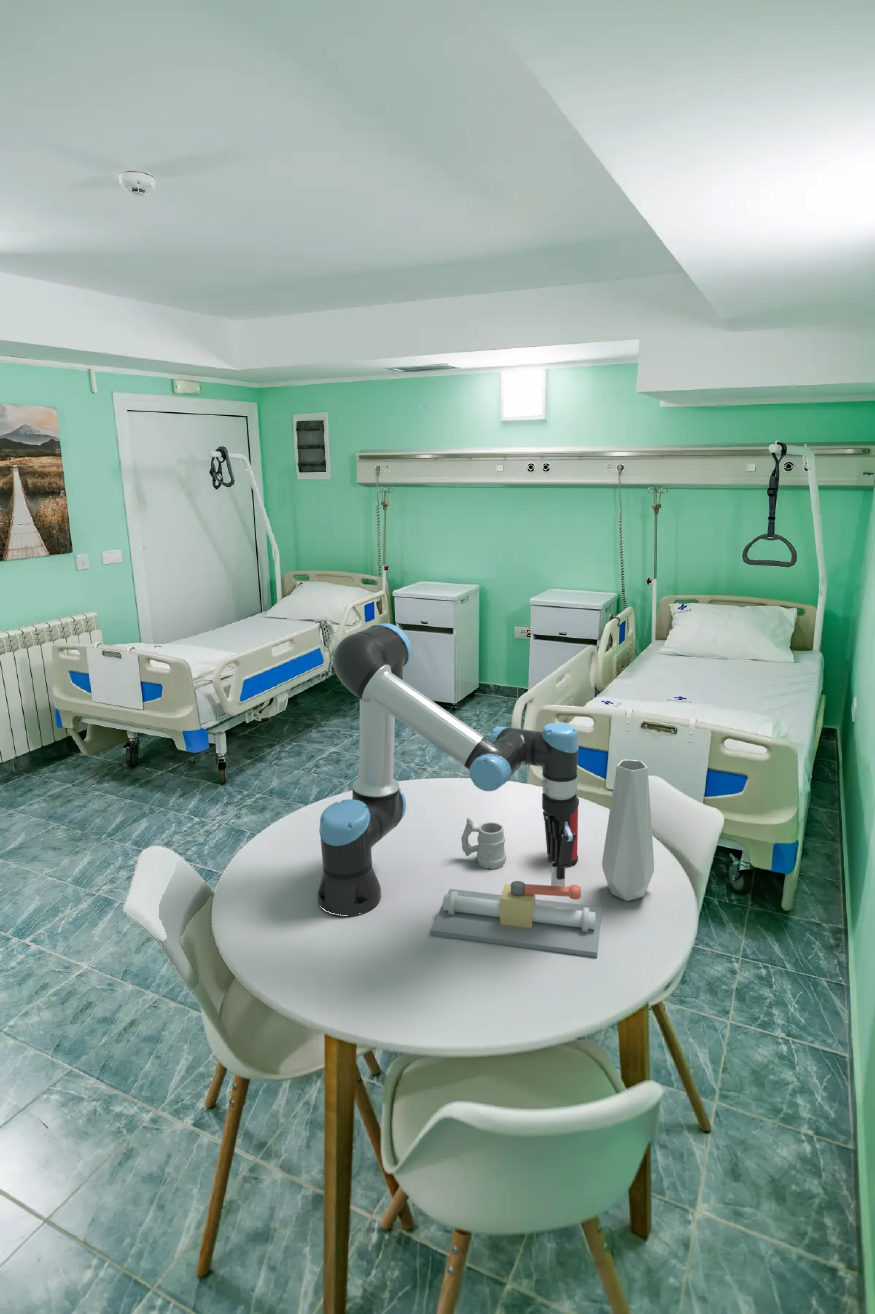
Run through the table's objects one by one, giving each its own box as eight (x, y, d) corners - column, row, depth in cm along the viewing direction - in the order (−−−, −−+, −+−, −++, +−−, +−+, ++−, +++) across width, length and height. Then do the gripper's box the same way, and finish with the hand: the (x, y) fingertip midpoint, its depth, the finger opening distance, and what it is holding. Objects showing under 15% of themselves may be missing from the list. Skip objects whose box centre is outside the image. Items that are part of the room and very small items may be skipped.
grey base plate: (431, 934, 167) (430, 904, 165) (449, 893, 183) (449, 865, 181) (596, 957, 158) (597, 925, 156) (601, 911, 174) (602, 882, 172)
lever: (510, 895, 167) (510, 887, 167) (511, 888, 170) (511, 880, 170) (580, 900, 165) (581, 892, 164) (580, 892, 168) (580, 884, 167)
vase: (609, 874, 189) (613, 751, 181) (655, 885, 183) (662, 759, 175) (593, 898, 179) (596, 769, 171) (641, 911, 173) (647, 778, 165)
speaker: (546, 865, 194) (547, 801, 189) (549, 851, 201) (549, 788, 197) (576, 868, 192) (578, 804, 187) (578, 853, 199) (579, 791, 195)
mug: (503, 871, 192) (503, 828, 189) (458, 866, 195) (457, 824, 192) (508, 856, 199) (508, 814, 196) (464, 851, 202) (464, 810, 199)
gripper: (532, 783, 171) (531, 876, 177) (555, 808, 158) (553, 907, 164) (563, 779, 172) (561, 871, 178) (588, 803, 160) (585, 901, 166)
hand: (557, 888), depth 171 cm, fingers closed
